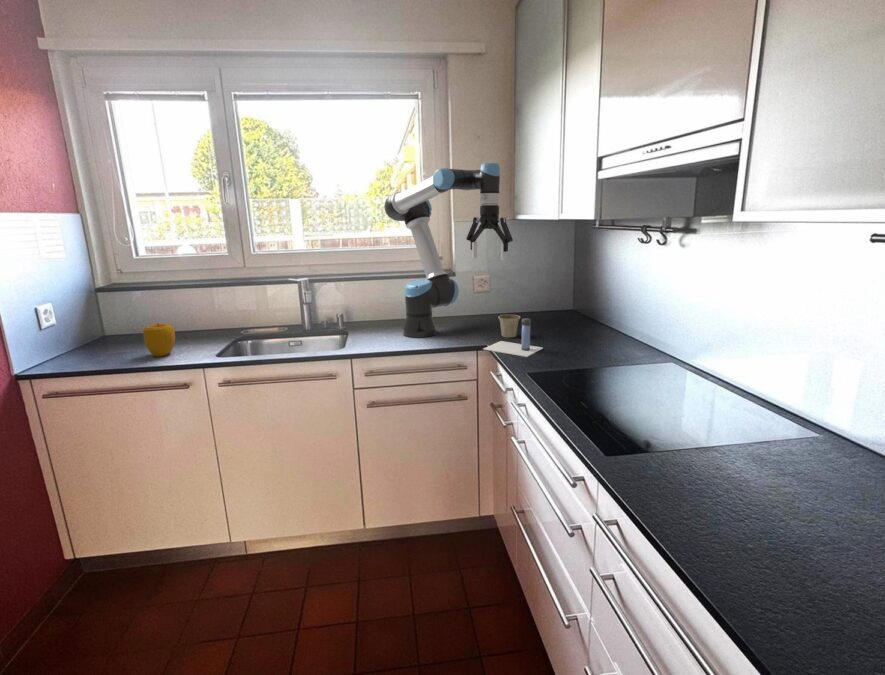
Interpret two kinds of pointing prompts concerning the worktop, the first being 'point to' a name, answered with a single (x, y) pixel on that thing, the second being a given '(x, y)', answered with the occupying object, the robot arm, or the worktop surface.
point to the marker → (525, 334)
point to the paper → (512, 349)
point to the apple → (159, 339)
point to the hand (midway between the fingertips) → (488, 259)
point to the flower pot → (509, 325)
